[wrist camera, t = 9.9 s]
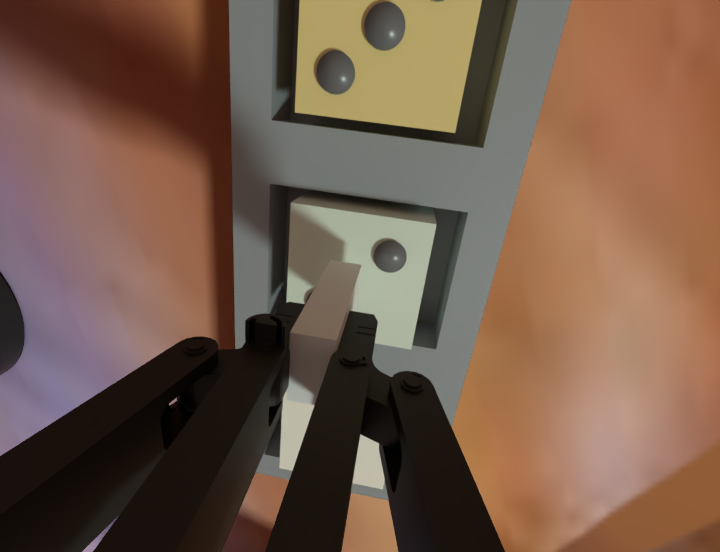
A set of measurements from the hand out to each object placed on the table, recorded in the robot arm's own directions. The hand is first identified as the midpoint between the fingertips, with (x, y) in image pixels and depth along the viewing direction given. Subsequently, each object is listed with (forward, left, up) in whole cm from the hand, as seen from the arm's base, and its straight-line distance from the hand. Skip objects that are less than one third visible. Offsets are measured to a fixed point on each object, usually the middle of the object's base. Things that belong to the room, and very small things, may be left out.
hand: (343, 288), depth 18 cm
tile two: (0, 0, -5) cm, 5 cm away
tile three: (0, +11, -5) cm, 12 cm away
